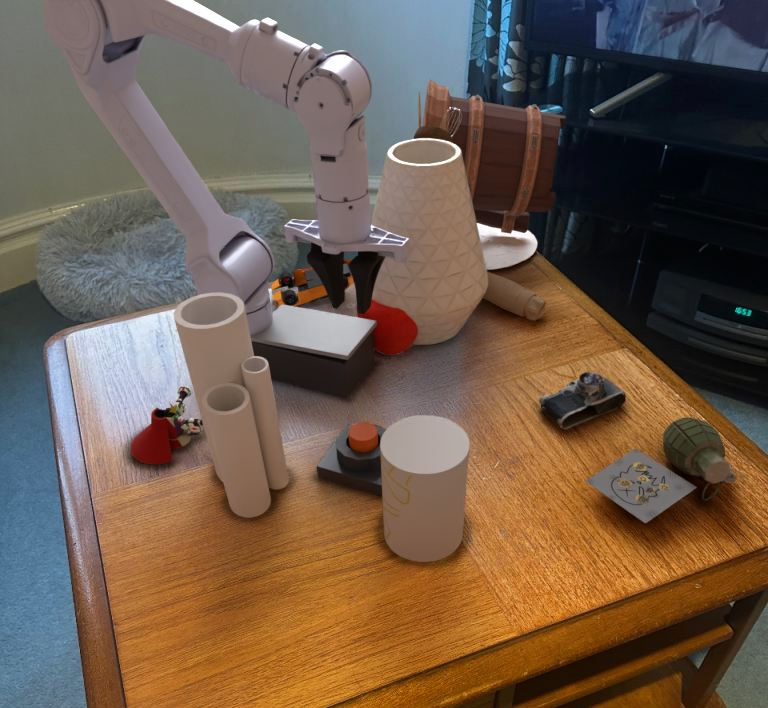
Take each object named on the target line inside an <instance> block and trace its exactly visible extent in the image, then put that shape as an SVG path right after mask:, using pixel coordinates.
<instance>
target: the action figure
mask: <svg viewBox="0 0 768 708" xmlns="http://www.w3.org/2000/svg"><path fill="white" fill-rule="evenodd" d="M176 393H177V394H178V395H179V396H178V398H177V399H176V400H175V402H174V404H172V403H171V402H170V401H168V403H169V405H170V407H166V408H165V409H162V408H159V407H156V408H154V409H153V410H152V411H151V412H150V413H151V414H150V423H149V425H147V426H146V427H145V428H144V429H143V430H142V431H140V432H139V433H138V434H137V435H136V436H135V437H134V439H133V440H132V442H131V443H130V452H131V454H132V457H133V458H134V459H135V460H137V461H138V462H141V463H143V464H146V465H160V464H168V463H171V462H173V455H172V450H176V449H180V448H183V447H185V446H186V445H188V444H189V443H190V442H191V440H192V436H199V435H200V434H201V433H202V432H203V431H204V426H203V422H202V419H200V418H195V417H190V418H189V419H185V418H182V416H183V414H184V413H186V410H187V408H186V403H185V402H184V401H185V400H186V399H187V398H189V397H191V395H192V391H191V389H190V388H189V387H188V386H180V387H179V388H178V390H177V392H176Z"/></svg>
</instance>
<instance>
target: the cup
mask: <svg viewBox="0 0 768 708" xmlns="http://www.w3.org/2000/svg"><path fill="white" fill-rule="evenodd" d="M385 430H386V431H385V432H384V433H383V435H382V437H381V441H380V451H381V475H382V496H381V498H382V517H383V536H384V540H385V542H386V545H387V546H388V548H389V549H390V550H391V551H392V552H393V553H395V554H396V555H398V556H399V557H401V558H403V559H406V560H409V561H411V562H418V563H429V562H430V563H431V562H436V561H440V560H443V559H445V558H447V557H449V556H450V555H452V554H453V553H454V552H456V550H457V549H458V548H459V547H460V545H461V542H462V541H463V536H464V525H465V524H464V523H465V510H466V498H467V485H468V484H467V483H468V470H469V456H470V455H469V454H470V439H469V436H468V434H467V433H466V431H465V430H464V429H463V428H462V426H460V425H459V424H457V423H455V422H454V421H452V420H450V419H448V418H444V417H441V416H437V415H427V414H425V415H424V414H423V415H421V414H420V415H419V414H418V415H413V416H412V415H411V416H409V417H405V418H402V419H400V420H398V421H396V422H394V423H392V424H391V425H389V426H388V427H387V428H386V429H385Z"/></svg>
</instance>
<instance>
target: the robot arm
mask: <svg viewBox="0 0 768 708" xmlns="http://www.w3.org/2000/svg"><path fill="white" fill-rule="evenodd" d="M43 24H44V25H43V27H44V29H45V31H46V32H47V34H48V35H49V37H50V38H51V40H52V41H53V43H54V44H55V46H56V47H57V48H58V49H59V51H60V52H61V54H62V55H63V56H64V58H65V59H66V61H67V63H68V64H69V66H70V69H71V71H72V74H73V76H74V79H75V81H76V84H77V87H78V88H79V90H80V92H81V94H82V95H83V97H84V98H85V99H86V101H87V102H88V104H89V105H90V107H91V108H92V110H93V111H94V112H95V114H96V115H97V116H98V118H99V119H100V121H101V122H102V124H103V125H104V126H105V128H106V129H107V131H108V132H109V133H110V135H111V136H112V137H113V139H114V140H115V142H116V143H117V145H118V146H119V147H120V149H121V150H122V151H123V153H124V155H125V156H126V157H127V159H128V160H129V161H130V163H131V164H132V166H133V167H134V169H135V170H136V171H137V173H138V174H139V176H140V177H141V178H142V180H143V181H144V183H145V184H146V185H147V187H148V188H149V189H150V191H151V193H153V195H154V197H155V198H156V200H158V202H159V204H160V205H161V207H163V209H164V210H165V212H166V213H167V214H168V216H169V217H170V219H171V220H172V222H173V223H174V225H175V226H176V227H177V229H178V230H179V232H180V233H181V234H182V236H183V237H184V238H185V241H186V242H185V243H186V245H185V255H184V257H185V258H184V267H185V269H186V270H187V272H188V273H189V275H190V276H191V278H192V280H193V282H194V285H195V290H196V292H197V295H200V294H206V293H218V292H222V293H228V294H232V295H235V296H237V297H239V298H240V299H241V300H242V301H243V302H244V306H245V311H246V316H247V322H248V327H249V332H250V336H251V335H254V334H257V333H260V332H262V331H264V330H265V329H267V328H268V327H269V326H270V325H271V324H272V321H273V314H272V313H273V309H272V302H271V297H270V290H269V289H270V283H269V278H270V277H271V276H272V275H273V273H274V271H275V267H276V260H275V256H274V253H273V251H272V249H271V248H270V246H269V244H268V243H267V242H266V241H265V240H263V239H262V238H261V237H260V236H258V235H257V234H256V233H255V232H254V231H253V230H252V229H251V228H250V227H249V225H248V224H247V222H246V221H245V219H243V218H240V217H237V216H233V215H231V214H229V213H228V214H227V213H226V212H224V210H223V208H222V207H221V205H220V204H219V203H218V201H217V199H216V198H215V196H214V195H213V193H212V192H211V190H210V189H209V188H208V186H207V185H206V183H205V182H204V180H203V178H202V177H201V176H200V174H199V173H198V171H197V169H196V168H195V167H194V165H193V164H192V162H191V161H190V159H189V158H188V156H187V155H186V153H185V152H184V150H183V149H182V147H181V146H180V144H179V143H178V142H177V140H176V138H175V137H174V136H173V134H172V132H171V130H169V128H168V127H167V125H166V123H165V122H164V120H163V119H162V117H161V116H160V115H159V113H158V112H157V110H156V109H155V107H154V106H153V104H152V103H151V101H150V99H149V98H148V97H147V95H146V94H145V92H144V91H143V89H142V88H141V86H140V85H139V83H138V82H137V68H138V67H137V66H138V65H137V64H138V57H139V54H140V51H141V49H142V46H143V44H144V41H145V38H146V36H147V35H156V36H158V37H161V38H163V39H166V40H168V41H170V42H173V43H175V44H178V45H180V46H182V47H185V48H187V49H189V50H192V51H194V52H197V53H199V54H202V55H204V56H206V57H209V58H211V59H213V60H216V61H218V62H221V63H223V64H226V65H227V66H228V68H229V70H230V73H231V76H232V78H233V80H234V81H235V83H236V84H237V85H239V86H241V87H243V88H245V89H247V90H249V91H251V92H252V93H255V94H256V95H259V96H261V97H263V98H265V99H267V100H269V101H272V102H273V103H275V104H277V105H279V106H281V107H283V108H285V109H288V110H290V111H291V112H294V113H295V115H296V118H297V119H298V121H299V123H300V124H301V126H302V127H303V128H304V129H305V131H306V134H307V136H308V143H309V152H310V159H311V161H310V162H311V167H312V168H311V169H312V178H313V187H314V197H315V207H316V216H317V219H295V218H292V219H290V220H289V221H288V222H287V223H286V224H285V225H283V229H284V230H283V231H284V237H285V242H286V243H288V244H296V243H297V242H299V243H305V244H310V251H309V252H308V253H307V254H306V261H307V264H308V265H309V266H310V267H312V268H313V269H314V271H315V272H316V273H317V275H318V276H319V278H320V280H321V282H322V283H323V285H324V288H325V290H326V292H327V294H328V297H327V298H328V299H329V302H330V304H331V305H330V306H331V307H332V309H334V310H338V309H339V308H340V307H341V306H342V305H343V304H344V303H345V301H346V290H345V285H344V274H343V264H344V260H345V252H357V255H356V256H355V257H353V258H352V259H351V260H352V261H351V262H350V263H349V269H350V271H351V274H352V277H353V280H354V283H353V284H354V289H355V300H356V307H357V309H356V311H357V310H358V313H359V314H365V313H366V312H367V310H368V309H369V308H370V307H371V300H372V294H373V290H374V285H375V282H376V279H377V276H378V273H379V270H380V268H381V265H382V263H383V261H384V259H385V257H390V258H394V261H396V262H401V263H403V262H404V261H405V260H406V259H407V258H408V256H409V255H410V239H409V238H406V237H401V236H398V235H395V234H392V233H390V232H387V231H385V230H382V229H380V228H377V227H375V226H372V225H371V220H372V217H371V201H370V200H371V199H370V184H369V183H370V182H369V181H370V180H369V165H368V150H367V149H368V146H367V136H366V135H367V133H366V120H365V118H366V116H365V115H364V114H363V113H364V112H365V111H366V109H367V107H368V106H369V104H370V101H371V100H372V99H371V98H372V95H373V85H372V78H371V76H370V73H369V71H368V69H367V68H366V66H365V65H364V64H363V63H362V62H361V60H360V59H358V58H357V57H355V56H354V55H352V53H351V52H350V51H348V50H343V49H341V50H340V49H339V50H335V51H331V52H330V53H325V52H324V47H323V46H322V45H319V44H317V43H313V44H311V45H309V44H307V43H305V42H303V41H301V40H299V39H297V38H295V37H293V36H291V35H289V34H286V33H285V32H283V31H280V30H279V23H278V21H275V20H273V19H272V18H270V17H265V18H263V19H261V20H258V19H250V20H249V21H247V22H246V23H244V24H242V25H241V26H239V25H237V24H235V23H234V22H232V21H231V20H229V19H227V18H225V17H223V16H221V15H220V14H218V13H216V12H215V11H213V10H211V9H209V8H208V7H206V6H204V5H202V4H200V3H199V2H197V1H195V0H43ZM362 114H363V115H362Z"/></svg>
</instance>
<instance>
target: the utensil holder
mask: <svg viewBox="0 0 768 708" xmlns="http://www.w3.org/2000/svg"><path fill="white" fill-rule="evenodd" d="M451 109H452V107H451ZM456 109H457V107H456V108H455V110H456ZM449 110H450V109H449ZM457 110H458V109H457ZM457 110H456V112H457ZM453 111H454V110H453ZM453 111H452V112H453ZM459 111H460V109H459ZM459 111H458V112H459ZM452 112H451V113H452ZM460 112H461V111H460ZM451 113H450V114H451ZM445 114H446V113H445ZM452 115H453V114H452ZM461 115H462V113H461ZM444 116H445V115H444ZM455 116H456V115H455ZM459 116H460V113H459ZM459 116H458V117H459ZM445 117H446V116H445ZM448 117H449V116H448ZM451 117H452V116H451ZM443 118H444V117H443ZM444 119H445V118H444ZM447 119H448V118H447ZM450 119H451V118H450ZM454 119H455V118H454ZM461 119H462V118H461ZM457 120H458V119H457ZM459 120H460V117H459ZM446 121H447V120H446ZM453 121H454V120H453ZM443 122H444V120H443ZM456 122H457V121H456ZM460 122H461V121H460ZM441 123H442V122H441ZM445 123H446V122H445ZM458 123H459V122H458ZM448 124H449V123H448ZM455 124H456V123H455ZM442 125H443V124H442ZM459 125H460V124H459ZM447 126H448V125H447ZM451 126H452V125H451ZM454 126H455V125H454ZM457 126H458V125H457ZM440 127H441V125H440ZM458 127H459V126H458ZM443 128H444V127H443ZM450 128H451V127H450ZM453 128H454V127H453ZM456 128H457V127H456ZM446 129H447V128H446ZM457 129H458V128H457ZM449 130H450V129H449ZM452 130H453V129H452ZM456 131H457V130H456ZM450 133H451V132H450ZM453 135H454V133H453ZM453 135H452V136H453ZM452 136H451V135H450V134H449V133H448V132H447V131H446V130H444V129H442V128H439V127H436V126H423V125H422V107H421V92H420V91H418V128H417V129H416V130H415V133H414V135H413V139H421V138H431V139H440V140H445V141H449V142H451V143H453V139H452Z"/></svg>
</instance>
